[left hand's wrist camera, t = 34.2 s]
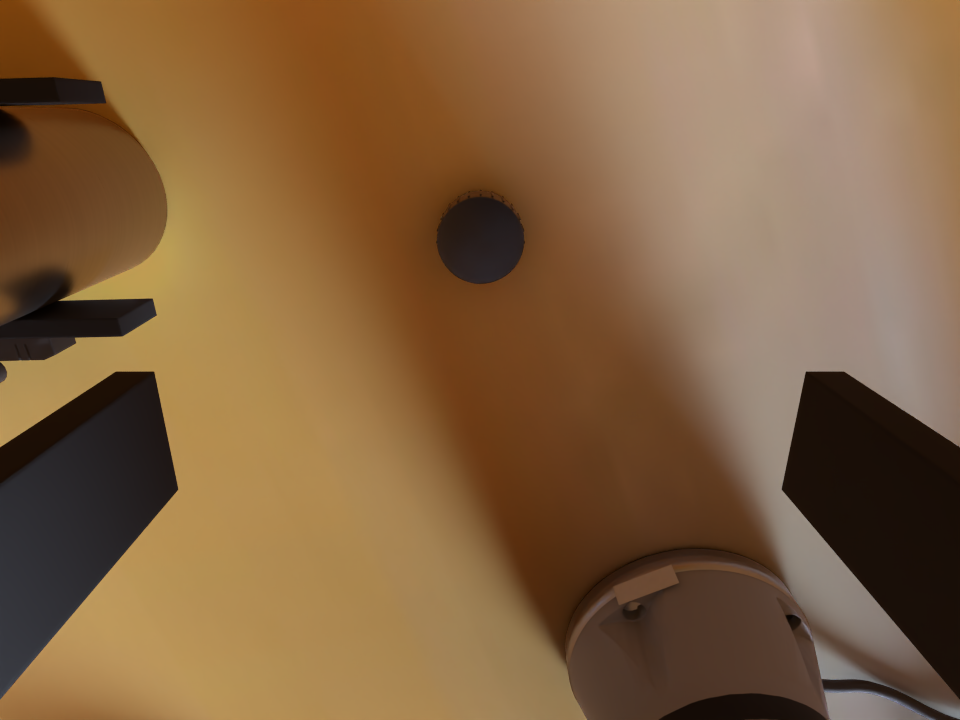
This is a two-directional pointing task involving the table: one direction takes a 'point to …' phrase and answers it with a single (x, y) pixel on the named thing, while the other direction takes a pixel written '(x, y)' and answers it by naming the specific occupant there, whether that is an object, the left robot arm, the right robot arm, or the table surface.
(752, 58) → the table surface
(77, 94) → the right robot arm
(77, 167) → the bottle
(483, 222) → the cap
